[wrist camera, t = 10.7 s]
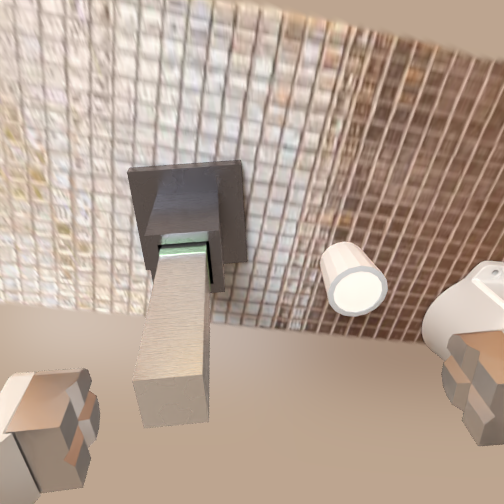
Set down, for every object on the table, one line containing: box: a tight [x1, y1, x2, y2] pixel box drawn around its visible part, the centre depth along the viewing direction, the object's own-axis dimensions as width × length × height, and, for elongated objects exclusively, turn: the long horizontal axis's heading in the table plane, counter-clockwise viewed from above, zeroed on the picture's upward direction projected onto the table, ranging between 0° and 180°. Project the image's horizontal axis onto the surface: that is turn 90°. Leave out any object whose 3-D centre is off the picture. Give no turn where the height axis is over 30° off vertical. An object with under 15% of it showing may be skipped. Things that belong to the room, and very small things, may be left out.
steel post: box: [132, 241, 211, 428], centre depth 34 cm, size 4×4×18 cm
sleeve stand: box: [127, 160, 247, 293], centre depth 45 cm, size 12×12×12 cm
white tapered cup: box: [320, 242, 388, 317], centre depth 52 cm, size 7×7×7 cm
